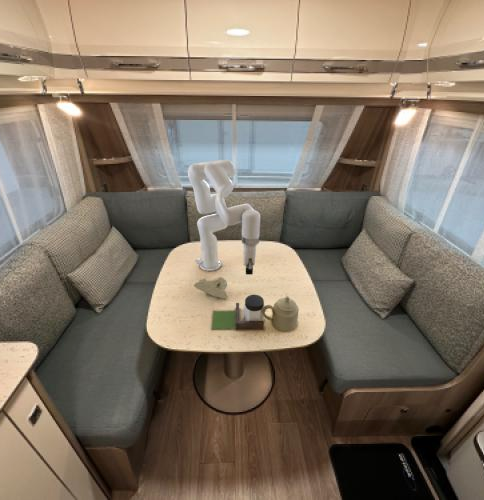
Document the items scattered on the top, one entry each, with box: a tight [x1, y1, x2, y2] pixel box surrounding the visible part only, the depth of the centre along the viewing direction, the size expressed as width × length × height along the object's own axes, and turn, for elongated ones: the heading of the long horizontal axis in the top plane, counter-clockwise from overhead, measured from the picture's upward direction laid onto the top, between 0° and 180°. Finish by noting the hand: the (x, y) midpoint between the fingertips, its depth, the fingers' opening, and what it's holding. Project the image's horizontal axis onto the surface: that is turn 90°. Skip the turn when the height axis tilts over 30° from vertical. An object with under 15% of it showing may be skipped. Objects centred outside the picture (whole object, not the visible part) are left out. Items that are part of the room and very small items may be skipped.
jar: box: [243, 294, 266, 322], centre depth 118 cm, size 9×8×12 cm
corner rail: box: [235, 302, 265, 331], centre depth 121 cm, size 12×13×4 cm
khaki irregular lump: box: [193, 276, 228, 300], centre depth 136 cm, size 15×7×15 cm
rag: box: [211, 310, 236, 330], centre depth 121 cm, size 10×11×1 cm
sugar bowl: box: [263, 295, 300, 332], centre depth 115 cm, size 15×11×15 cm
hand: (249, 273), depth 123 cm, fingers closed
